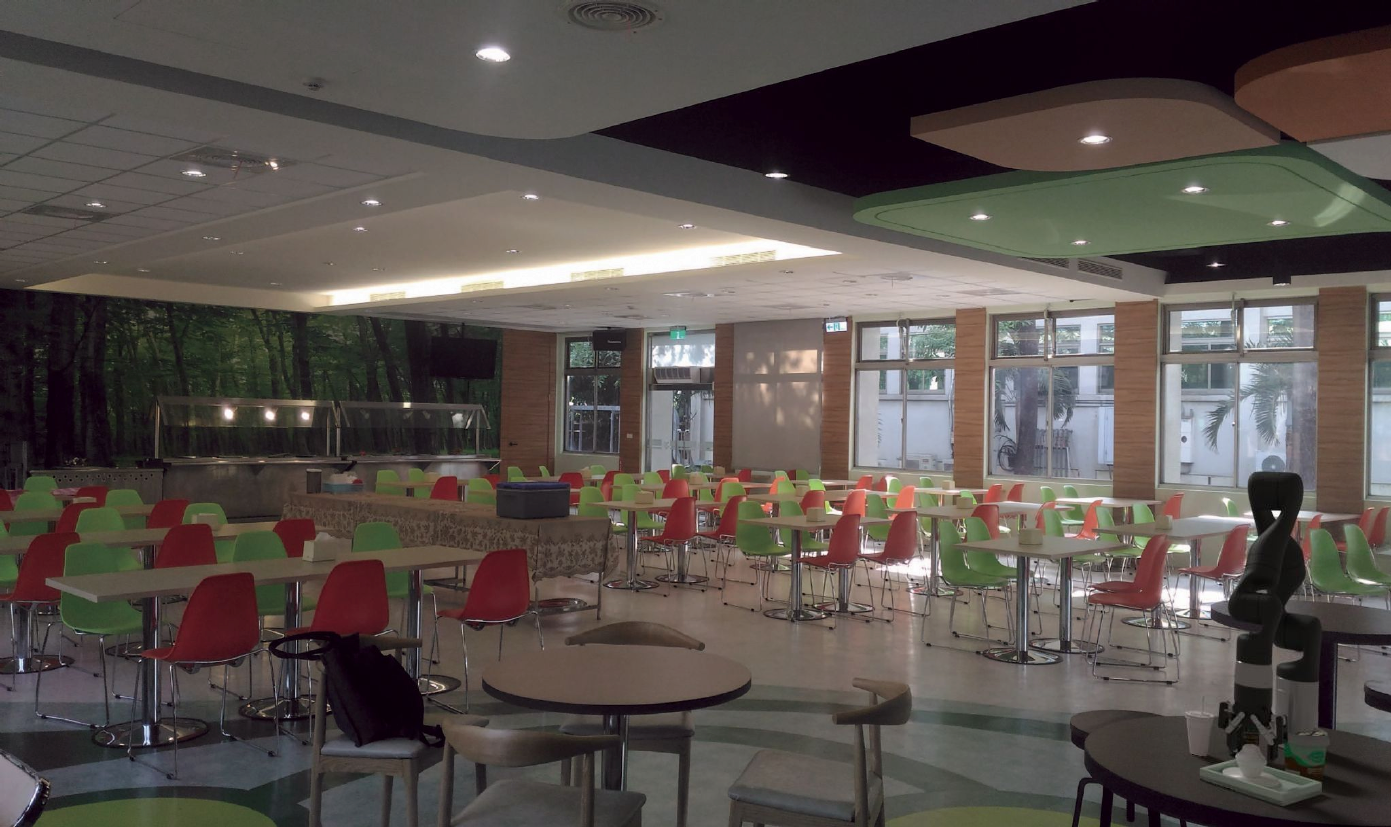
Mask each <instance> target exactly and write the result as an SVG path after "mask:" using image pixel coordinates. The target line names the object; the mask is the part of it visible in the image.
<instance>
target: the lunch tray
mask: <svg viewBox="0 0 1391 827" xmlns="http://www.w3.org/2000/svg"><path fill="white" fill-rule="evenodd" d="M1199 778H1201V779H1202V780H1206V781H1208V782H1207V783H1209V782H1212V783H1214V784H1213V785H1215V784H1218V785H1220V786H1219V787H1221V786H1224V787H1226V788H1225V789H1227V788H1230V789H1231V791H1233V790H1235V791H1234V792H1236V793H1240V794H1243V795H1246V796H1249V797H1252V798H1256V799H1259V800H1262V801H1265V802H1268V803H1271V804H1274V805H1277V806H1281V807H1284V806H1288V805H1291V804H1295V803H1297V802H1301V801H1304V800H1307V799H1310V798H1313V797H1317V796H1320V795H1322V791H1323V790H1322V788H1323V787H1322V786H1323V783H1322V781H1320V780H1312V779H1308V778H1305V777H1302V776H1298V775H1295V774H1291V773H1288V772H1285V770H1282V769H1281V770H1280V769H1277V768H1273V767H1270V766H1267V765H1266V766H1265V769H1264V770H1263V772H1262V773H1261V775H1260V776H1259V777H1258V778H1251V777H1247V776H1244V775H1243V774H1242V772H1241V770H1240V768H1239V766H1238V764H1237V761H1236V758H1234V759H1230V760H1227V761H1223V762H1220V763H1219V762H1218V763H1215V764H1212V765H1207V766H1204V767H1200V768H1199ZM1202 780H1201V781H1202ZM1206 781H1205V782H1206ZM1212 783H1211V784H1212ZM1218 785H1217V786H1218ZM1224 787H1223V788H1224ZM1230 789H1229V790H1230Z"/></svg>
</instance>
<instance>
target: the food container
mask: <svg viewBox="0 0 1391 827" xmlns="http://www.w3.org/2000/svg"><path fill="white" fill-rule="evenodd" d="M1330 744H1331V741H1330V737H1329V735H1328V732H1326V731H1325V730H1323V729H1321V728H1319V727H1318V728H1315V727H1313V731H1311V732H1298V733H1295V734H1290V733H1288V742H1287V743H1284V748H1283V750H1284V771H1285V772H1288V773H1291V774H1295V775H1298V776H1302V777H1305V778H1308V779H1312V780H1315V781H1321V780H1322V779H1323V778H1324V770H1325V763H1326V754H1327V747H1329V746H1330Z"/></svg>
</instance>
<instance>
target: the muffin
mask: <svg viewBox="0 0 1391 827" xmlns="http://www.w3.org/2000/svg"><path fill="white" fill-rule="evenodd" d="M1234 759H1236V761H1237V764H1238V766H1239V768H1240V770H1241V772H1242V774H1243V775H1244V776H1247V777H1251V778H1258V777H1259V776H1260V775H1261V773H1262V772H1263V770H1264V769H1265V766H1267V764H1268V761H1267V757H1266V756H1264V755H1263V753H1262V751H1261V749H1260V748H1259V747H1258V746H1256V745H1252V744H1245V745H1244V746H1243V747H1242V750H1241V751H1240V752H1238V753H1237V754H1236V756H1235V757H1234Z"/></svg>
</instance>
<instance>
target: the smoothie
mask: <svg viewBox="0 0 1391 827" xmlns="http://www.w3.org/2000/svg"><path fill="white" fill-rule="evenodd" d="M1200 698H1201V699H1200V710H1186V711H1185V714H1184V717H1185V718H1186V728H1187V736H1188V745H1189V747H1188V748H1189V754H1190V753H1191V755H1192V754H1194V755H1193V756H1195V755H1199V756H1198V757H1201V756H1205V757H1207V756H1208V752H1209V746H1210V739H1211V734H1212V733H1211V732H1212V727H1213V722H1214V721H1215V715H1214V714H1212V713H1209V712H1206V711H1204V710H1205V709H1204V705H1205V703H1204V701H1205V700H1204V699H1205V696H1204V695H1201V697H1200Z"/></svg>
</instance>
